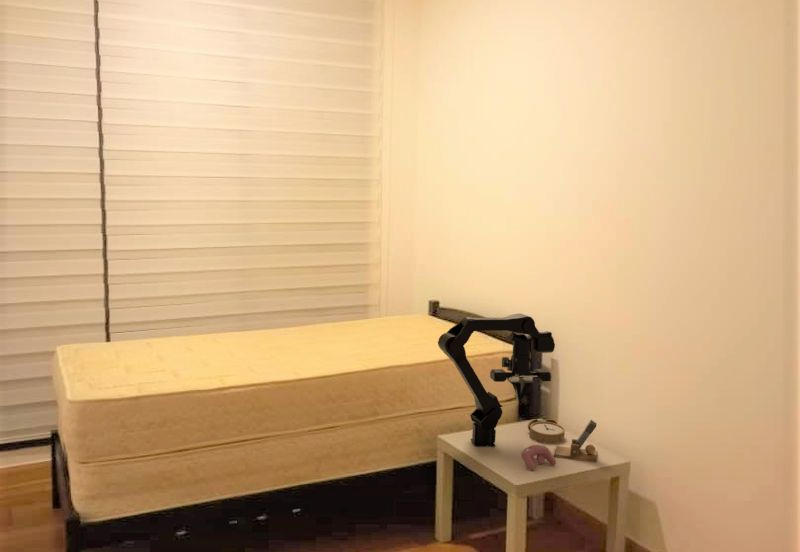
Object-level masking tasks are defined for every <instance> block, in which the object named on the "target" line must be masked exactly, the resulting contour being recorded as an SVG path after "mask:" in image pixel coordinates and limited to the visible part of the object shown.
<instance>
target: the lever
mask: <svg viewBox="0 0 800 552" xmlns="http://www.w3.org/2000/svg"><path fill="white" fill-rule="evenodd" d="M596 427H597V422H595V421H594V420H592V419H590V420H589V421H588V423H587V424H586V426H585V428H584V430H583V431H582V432H581V434H580V435H579V436H578V438H577V441H576V442H575V443H574V444H577V445H579V449H582V446H583V445H584V443H585V442H586V441H587V439H588V438H589V437H590V435H591V434H592V433H593V431H595V429H596Z"/></svg>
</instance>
